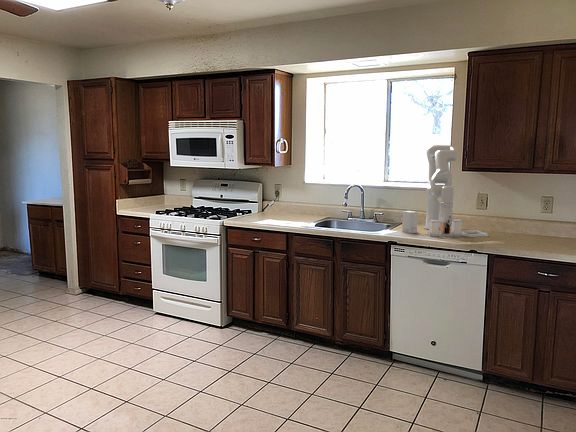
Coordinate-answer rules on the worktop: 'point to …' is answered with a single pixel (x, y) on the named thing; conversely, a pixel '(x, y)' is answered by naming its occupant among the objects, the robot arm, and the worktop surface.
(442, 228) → the marked fuse
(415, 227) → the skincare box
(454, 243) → the worktop surface
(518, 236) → the worktop surface
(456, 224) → the right fuse
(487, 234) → the tray
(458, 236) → the fuse board
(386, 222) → the worktop surface
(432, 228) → the left fuse
